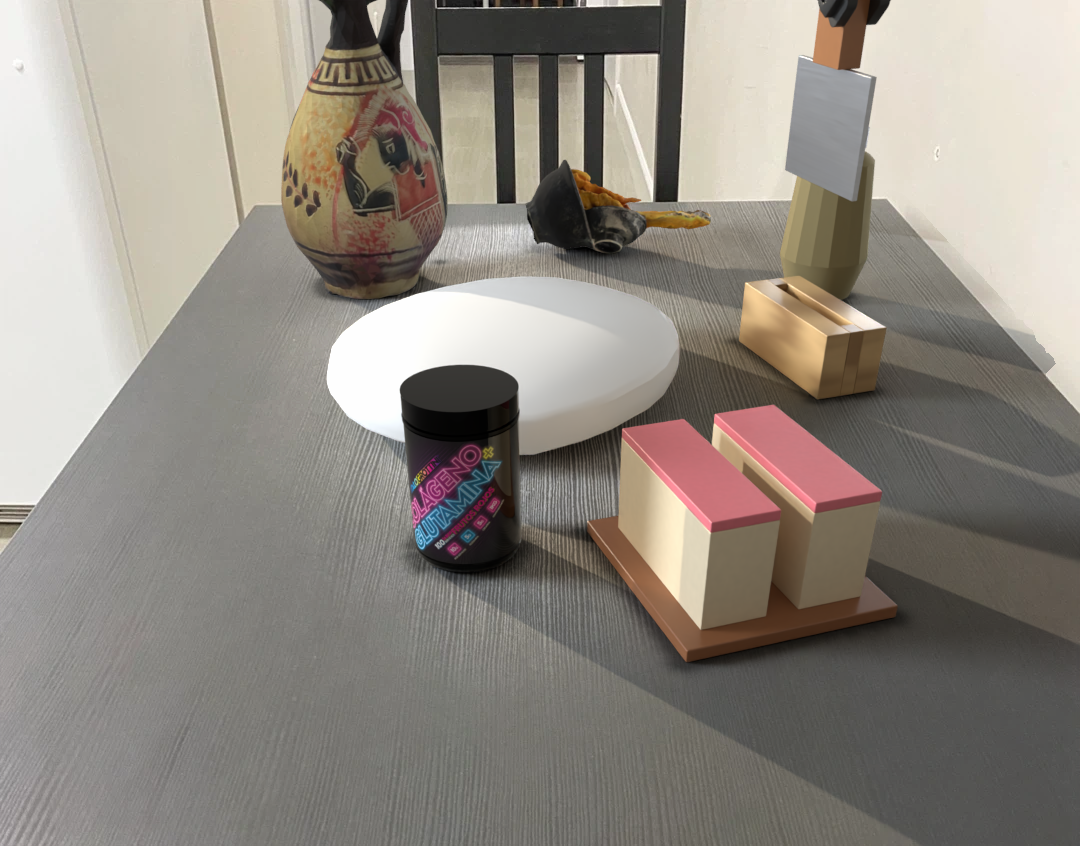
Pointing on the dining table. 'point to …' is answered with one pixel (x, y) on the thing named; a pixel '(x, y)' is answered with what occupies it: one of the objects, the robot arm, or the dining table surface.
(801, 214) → the squeeze bottle
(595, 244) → the fried shrimp in bowl
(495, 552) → the supplement container
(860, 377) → the knife block
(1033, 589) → the dining table surface
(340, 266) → the ceramic jug
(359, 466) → the dining table surface
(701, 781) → the dining table surface
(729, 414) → the cake
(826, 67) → the knife
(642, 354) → the white round flat disc
